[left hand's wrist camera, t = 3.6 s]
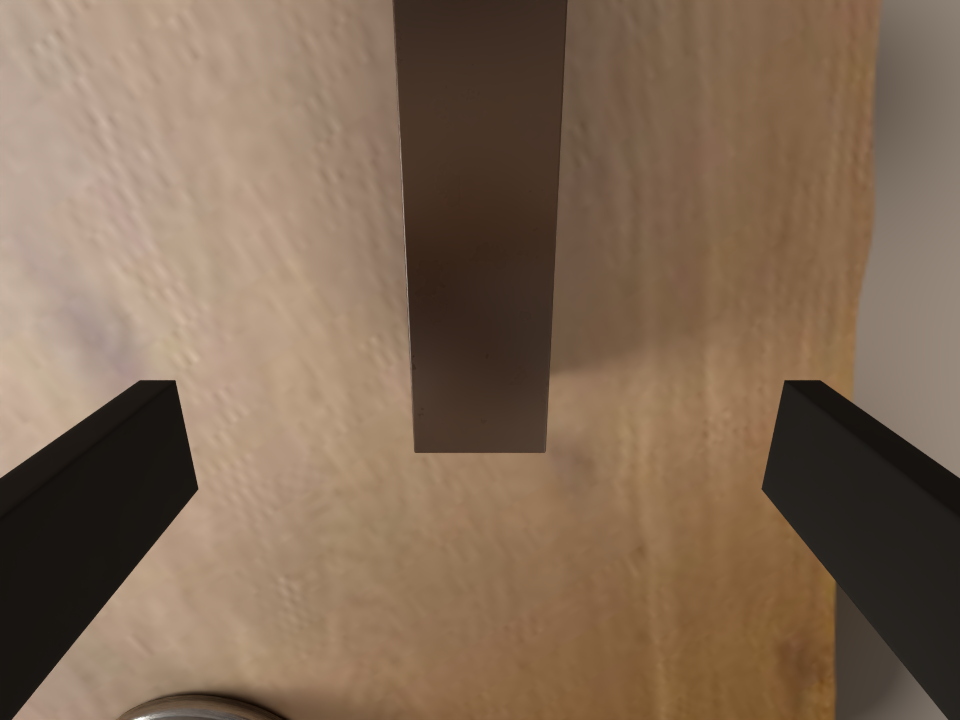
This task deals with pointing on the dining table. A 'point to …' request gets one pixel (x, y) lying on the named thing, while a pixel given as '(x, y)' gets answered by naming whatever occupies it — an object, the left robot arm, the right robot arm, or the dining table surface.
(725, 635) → the dining table surface
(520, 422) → the beam
